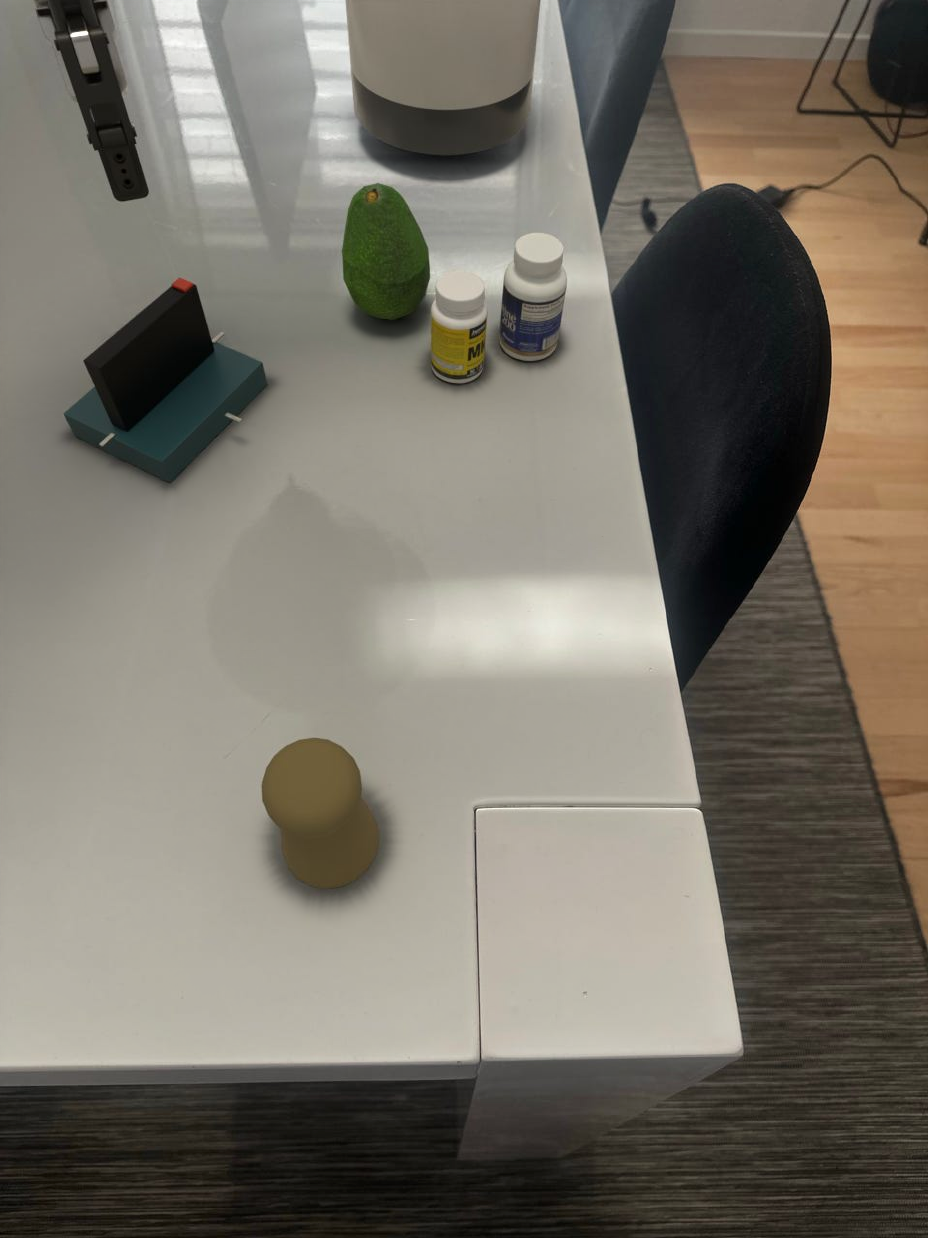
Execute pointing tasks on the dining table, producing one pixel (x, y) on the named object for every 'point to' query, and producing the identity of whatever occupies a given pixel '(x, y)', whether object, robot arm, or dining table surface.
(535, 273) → the pill bottle
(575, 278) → the dining table surface
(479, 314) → the supplement bottle
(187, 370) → the red-tipped black panel
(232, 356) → the teal base plate
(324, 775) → the cork
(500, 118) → the planter
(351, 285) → the avocado
